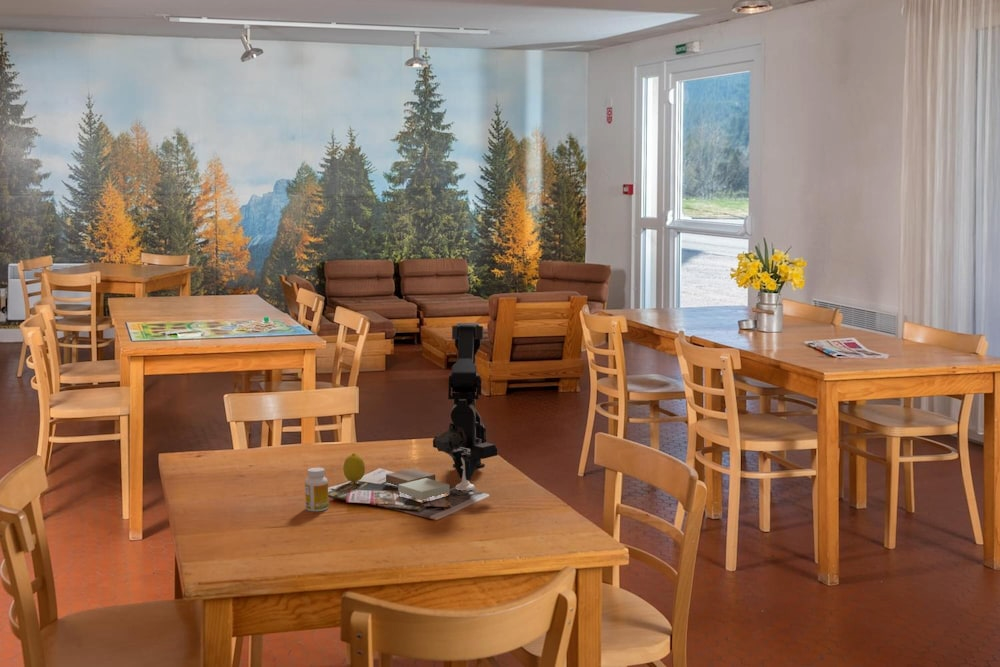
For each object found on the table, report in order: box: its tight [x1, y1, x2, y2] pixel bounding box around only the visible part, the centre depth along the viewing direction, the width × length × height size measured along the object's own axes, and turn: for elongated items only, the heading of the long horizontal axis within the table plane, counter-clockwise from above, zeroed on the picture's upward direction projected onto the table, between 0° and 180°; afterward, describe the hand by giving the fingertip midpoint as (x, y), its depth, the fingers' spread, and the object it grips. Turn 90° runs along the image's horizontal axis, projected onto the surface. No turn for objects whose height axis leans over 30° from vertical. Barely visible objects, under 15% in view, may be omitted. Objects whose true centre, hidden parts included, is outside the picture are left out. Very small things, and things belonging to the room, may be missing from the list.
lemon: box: [342, 453, 366, 483], centre depth 287 cm, size 6×6×8 cm
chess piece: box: [455, 450, 475, 491], centre depth 281 cm, size 5×5×10 cm
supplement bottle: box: [304, 467, 329, 513], centre depth 264 cm, size 5×5×10 cm
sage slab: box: [397, 478, 451, 500], centre depth 275 cm, size 9×9×3 cm
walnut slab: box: [385, 467, 436, 486], centre depth 285 cm, size 9×9×3 cm
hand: (465, 479), depth 282 cm, fingers closed on chess piece, 2 cm apart
